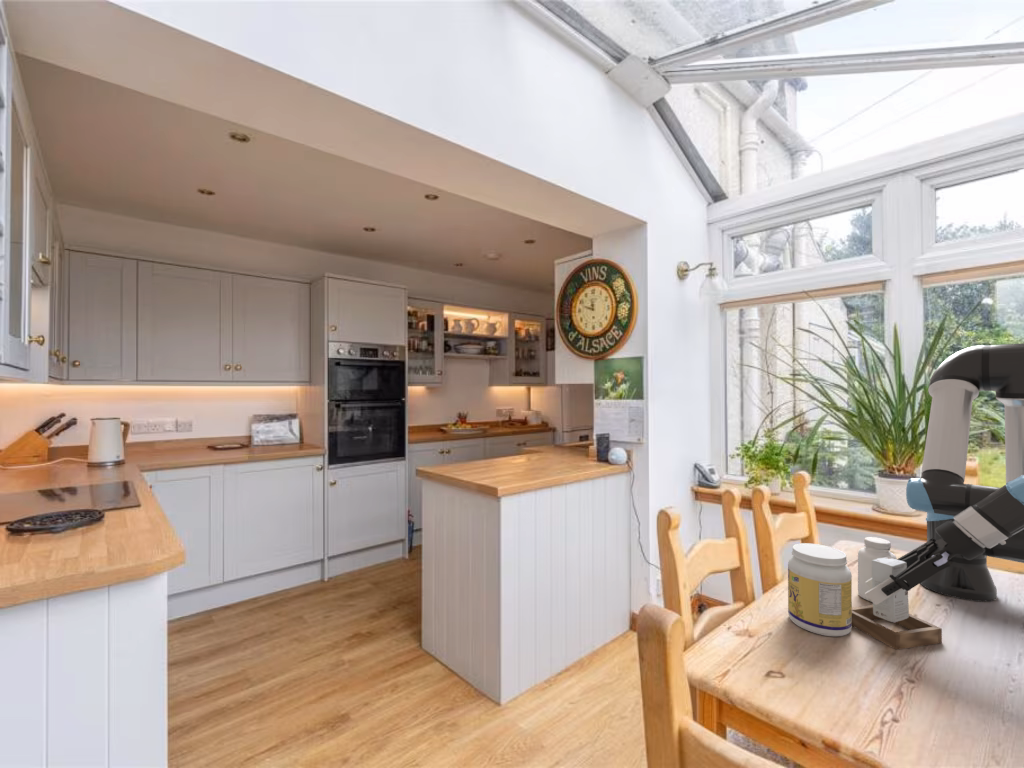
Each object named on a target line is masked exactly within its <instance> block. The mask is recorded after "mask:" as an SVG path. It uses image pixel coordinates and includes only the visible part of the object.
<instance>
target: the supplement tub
mask: <svg viewBox="0 0 1024 768" xmlns="http://www.w3.org/2000/svg"><path fill="white" fill-rule="evenodd" d="M791 555H792V556H791V557H790V558H789V559H788V563H787V567H788V568H787V576H788V577H787V601H788V602H787V603H788V605H787V607H788V608H787V609H788V610H787V613H788V617H789V619H790V621H792V623H794V624H795V625H796V626H798V627H799V628H802V629H803V630H804V631H805V630H806V631H808V632H811V633H813V634H817V635H820V636H821V635H822V636H825V637H843V636H847V635H849V634H850V633H851V631H852V627H853V626H852V607H853V606H852V604H853V603H852V602H853V600H852V597H853V595H852V591H853V590H852V589H853V588H852V577H853V576H852V571H851V569H850V568H849V566H847V563H848V561H847V554H846V553H845V552H844V551H842V550H840V549H838V548H835V547H833V546H829V545H824V544H818V543H809V542H807V543H805V542H802V543H801V542H800V543H795V544H794V545H792V552H791Z"/></svg>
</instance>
